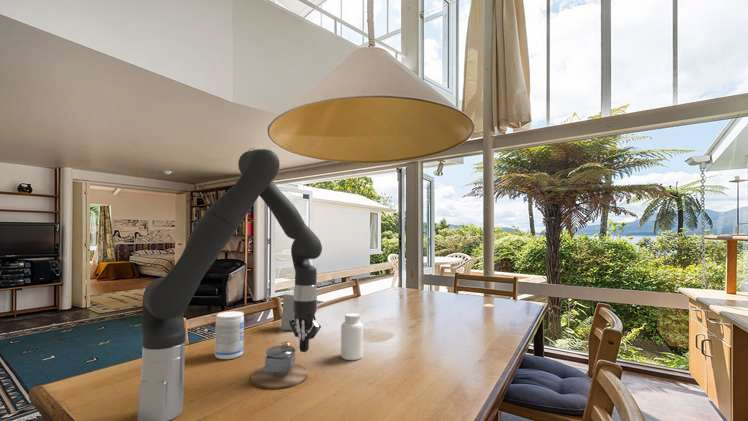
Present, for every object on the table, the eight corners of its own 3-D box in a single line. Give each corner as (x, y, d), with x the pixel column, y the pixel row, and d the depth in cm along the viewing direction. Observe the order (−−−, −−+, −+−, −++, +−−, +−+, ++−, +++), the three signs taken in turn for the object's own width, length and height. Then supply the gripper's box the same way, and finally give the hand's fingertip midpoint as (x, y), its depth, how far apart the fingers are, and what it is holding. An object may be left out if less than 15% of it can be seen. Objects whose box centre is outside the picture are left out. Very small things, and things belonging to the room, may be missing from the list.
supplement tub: (246, 357, 129) (247, 315, 129) (217, 362, 123) (218, 318, 124) (239, 349, 137) (240, 309, 137) (212, 353, 132) (213, 312, 132)
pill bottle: (351, 351, 136) (351, 311, 137) (367, 356, 131) (368, 314, 132) (335, 357, 130) (336, 314, 131) (352, 362, 125) (353, 318, 126)
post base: (301, 389, 104) (302, 368, 104) (242, 388, 104) (243, 367, 104) (312, 366, 121) (312, 348, 122) (261, 365, 122) (262, 347, 122)
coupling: (291, 372, 109) (292, 354, 109) (262, 372, 108) (263, 354, 108) (299, 356, 122) (299, 340, 122) (273, 356, 122) (273, 340, 122)
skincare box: (280, 329, 163) (281, 294, 164) (288, 325, 170) (289, 291, 170) (297, 331, 160) (298, 295, 161) (305, 327, 167) (305, 292, 168)
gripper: (327, 298, 119) (326, 352, 118) (299, 293, 126) (298, 344, 126) (311, 302, 113) (310, 359, 112) (282, 297, 120) (281, 350, 120)
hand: (303, 351), depth 119 cm, fingers closed
